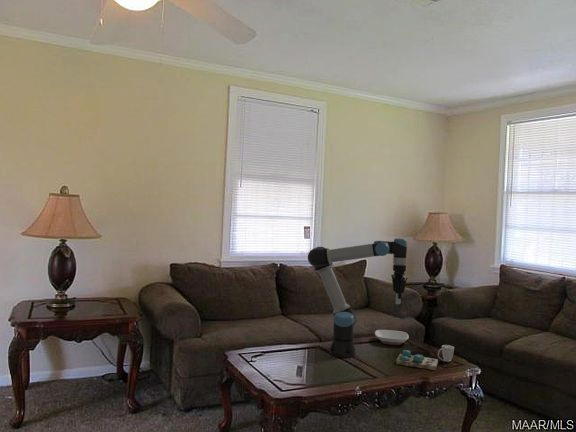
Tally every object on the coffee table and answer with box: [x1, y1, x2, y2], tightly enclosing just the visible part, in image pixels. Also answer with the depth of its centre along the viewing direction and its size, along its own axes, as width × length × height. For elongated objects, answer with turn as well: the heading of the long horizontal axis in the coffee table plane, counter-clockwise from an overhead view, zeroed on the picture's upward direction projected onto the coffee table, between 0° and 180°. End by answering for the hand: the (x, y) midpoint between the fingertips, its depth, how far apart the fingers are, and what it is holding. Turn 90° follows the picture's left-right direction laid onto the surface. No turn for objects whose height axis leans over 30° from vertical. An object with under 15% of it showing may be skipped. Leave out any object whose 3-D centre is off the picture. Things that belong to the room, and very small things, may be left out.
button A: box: [400, 356, 409, 362], centre depth 262 cm, size 4×4×3 cm
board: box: [395, 353, 439, 371], centre depth 263 cm, size 21×14×2 cm, turn 67°
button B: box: [401, 349, 411, 357], centre depth 269 cm, size 4×4×3 cm
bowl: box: [374, 329, 410, 346], centre depth 305 cm, size 22×22×5 cm
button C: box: [413, 354, 423, 363], centre depth 260 cm, size 4×4×3 cm
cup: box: [437, 344, 455, 363], centre depth 270 cm, size 7×10×8 cm
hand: (398, 303), depth 281 cm, fingers closed
